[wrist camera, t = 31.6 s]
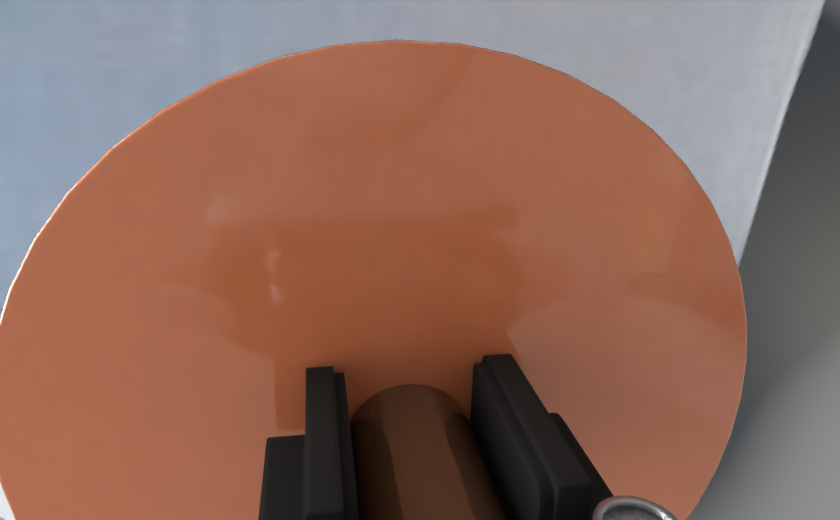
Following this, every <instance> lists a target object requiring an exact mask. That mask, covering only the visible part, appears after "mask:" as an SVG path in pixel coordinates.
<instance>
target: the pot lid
mask: <svg viewBox="0 0 840 520" xmlns="http://www.w3.org/2000/svg"><path fill="white" fill-rule="evenodd" d="M746 346H747V319H746V311H745V304H744V297H743V289H742V282H741V278H740V274H739V271H738V267H737V264H736V261H735V257H734V254H733V250H732V247H731V244H730V241H729V238H728V236H727V234H726V232H725V230H724V228H723V226H722V224H721V221H720V219H719V217H718V215H717V213H716V211H715V209H714V207H713V204H712V202H711V201H710V199H709V198H708V196H707V195H706V193H705V192H704V190H703V189H702V187H701V186H700V184H699V183H698V181H697V180H696V179H695V177H694V176H693V174H692V173H691V171H690V170H689V168H688V167H687V165H686V164H685V163H684V162H683V161H682V160H681V159H680V158H679V156H678V155H677V154H676V153H675V152H674V151H673V150H672V149H671V148H670V147H669V146H668V145H667V144H666V143H665V142H664V141H663V140H662V138H661V137H660V136H659V135H658V134H657V133H656V132H655V131H654V130H653V129H652V128H650V127H649V126H648V125H646V124H645V123H644V122H643V121H641V120H640V119H639V118H637V117H636V116H635V115H633V114H632V113H631V112H630V111H628V110H627V109H626V108H624V107H623V106H622V105H621V104H619V103H618V102H617V101H615V100H614V99H612V98H610V97H609V96H607V95H605V94H603V93H601V92H599V91H598V90H596V89H594V88H592V87H590V86H589V85H587V84H585V83H583V82H581V81H580V80H578V79H576V78H574V77H572V76H570V75H569V74H566V73H563V72H561V71H558V70H555V69H552V68H550V67H547V66H544V65H542V64H539V63H536V62H533V61H531V60H528V59H525V58H523V57H520V56H517V55H513V54H508V53H503V52H498V51H494V50H489V49H484V48H479V47H474V46H470V45H465V44H460V43H444V42H428V41H413V40H384V41H371V42H358V43H345V44H335V45H331V46H326V47H322V48H317V49H312V50H308V51H303V52H299V53H294V54H290V55H285V56H281V57H277V58H274V59H271V60H269V61H266V62H263V63H261V64H258V65H255V66H252V67H250V68H247V69H244V70H242V71H239V72H236V73H234V74H231V75H228V76H226V77H223V78H220V79H218V80H216V81H214V82H212V83H211V84H209V85H207V86H205V87H203V88H201V89H199V90H198V91H196V92H194V93H192V94H190V95H188V96H187V97H185V98H183V99H181V100H179V101H177V102H176V103H174V104H172V105H170V106H168V107H166V108H165V109H163V110H161V111H159V112H158V113H157V114H155V115H154V116H153V117H151V118H150V119H149V120H147V121H146V122H145V123H143V124H142V125H141V126H139V127H138V128H137V129H135V130H134V131H133V132H131V133H130V134H129V135H127V136H126V137H125V138H123V139H122V140H121V141H119V142H118V143H117V144H115V145H114V146H113V147H111V148H110V149H109V150H108V151H107V152H106V153H105V154H104V155H103V156H102V157H101V158H100V159H99V160H98V161H97V162H96V163H95V164H94V165H93V166H92V167H91V168H90V169H89V170H88V171H87V172H86V173H85V174H84V175H83V176H82V177H81V178H80V179H79V180H78V181H77V183H76V184H75V185H74V186H73V187H72V188H71V189H70V190H69V191H68V192H67V193H66V195H65V196H64V197H63V199H62V200H61V202H60V203H59V204H58V206H57V207H56V209H55V210H54V211H53V213H52V214H51V215H50V217H49V218H48V220H47V221H46V222H45V224H44V225H43V227H42V228H41V229H40V231H39V232H38V233H37V235H36V236H35V238H34V239H33V241H32V243H31V245H30V247H29V249H28V251H27V253H26V255H25V257H24V259H23V261H22V263H21V265H20V267H19V269H18V271H17V273H16V275H15V277H14V279H13V281H12V283H11V285H10V287H9V291H8V294H7V297H6V300H5V304H4V307H3V310H2V313H1V317H0V484H1V487H2V489H3V492H4V494H5V497H6V499H7V501H8V504H9V506H10V509H11V511H12V514H13V516H14V519H15V520H258V517H259V507H260V497H261V488H262V478H263V469H264V459H265V449H266V441H267V438H269V437H280V436H292V435H303V434H305V403H306V368H310V367H324V366H333V372H334V373H342V372H344V376H345V385H346V395H347V404H348V413H349V423H350V432H351V442H352V451H353V461H354V470H355V480H356V489H357V499H358V514H359V520H509V518H508V515H507V513H506V510H505V508H504V506H503V503H502V501H501V498H500V496H499V493H498V491H497V489H496V486H495V484H494V481H493V479H492V477H491V474H490V472H489V469H488V467H487V465H486V462H485V460H484V457H483V455H482V453H481V450H480V448H479V445H478V443H477V440H476V438H475V436H474V433H473V431H472V428H471V426H470V414H471V397H472V380H473V367H474V364H475V363H481V362H482V358H483V356H484V355H496V354H511V355H512V356H513V357H514V359H515V361H516V362H517V364H518V365H519V367H520V369H521V370H522V372H523V373H524V375H525V376H526V378H527V380H528V381H529V383H530V384H531V386H532V387H533V389H534V391H535V392H536V394H537V395H538V397H539V399H540V400H541V402H542V403H543V405H544V406H545V408H546V410H547V411H548V413H553V412H555V413H558V414H559V415H560V416H561V417H562V418H563V420H564V421H565V423H566V424H567V426H568V427H569V429H570V430H571V432H572V433H573V435H574V436H575V438H576V439H577V441H578V442H579V444H580V445H581V447H582V448H583V450H584V452H585V453H586V455H587V456H588V458H589V459H590V461H591V462H592V464H593V465H594V467H595V468H596V470H597V471H598V473H599V474H600V476H601V477H602V479H603V480H604V482H605V483H606V485H607V486H608V488H609V489H610V491H611V492H612V494H613V495H614V496H619V495H626V496H636V497H640V498H644V499H648V500H650V501H652V502H654V503H656V504H658V505H661V506H662V507H664V508H665V509H666V510H668V511H669V512H670V513H672V514H673V515H674V516H675V517H676V518H677V519H678V520H686V519H687V518H688V517H689V515H690V514H691V512H692V511H693V509H694V508H695V507H696V505H697V504H698V502H699V500H700V498H701V497H702V495H703V493H704V491H705V489H706V488H707V486H708V484H709V482H710V480H711V478H712V477H713V475H714V473H715V471H716V469H717V467H718V464H719V462H720V460H721V457H722V455H723V452H724V450H725V448H726V445H727V443H728V440H729V438H730V435H731V432H732V428H733V425H734V421H735V418H736V414H737V411H738V407H739V403H740V400H741V394H742V388H743V387H742V386H743V381H744V374H745V367H746V360H747V358H746V357H747V347H746Z"/></svg>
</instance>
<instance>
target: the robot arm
mask: <svg viewBox="0 0 840 520" xmlns="http://www.w3.org/2000/svg"><path fill="white" fill-rule="evenodd" d="M470 426H471V428H472V431H473V433H474V436H475V438H476V440H477V443H478V445H479V448H480V450H481V453H482V455H483V457H484V460H485V462H486V465H487V467H488V469H489V472H490V474H491V477H492V479H493V481H494V484H495V486H496V489H497V491H498V493H499V496H500V498H501V501H502V503H503V506H504V508H505V510H506V513H507V515H508V518H509V520H678V519H677V518H676V517H675V516H674V515H673V514H672V513H670V512H669V511H668V510H666V509H665V508H664V507H662V506H661V505H658V504H656V503H654V502H652V501H650V500H648V499H644V498H640V497H636V496H626V495H619V496H614V495H613V494H612V492H611V491H610V489H609V488H608V486H607V485H606V483H605V482H604V480H603V479H602V477H601V476H600V474H599V473H598V471H597V470H596V468H595V467H594V465H593V464H592V462H591V461H590V459H589V458H588V456H587V455H586V453H585V452H584V450H583V448H582V447H581V445H580V444H579V442H578V441H577V439H576V438H575V436H574V435H573V433H572V432H571V430H570V429H569V427H568V426H567V424H566V423H565V421H564V420H563V418H562V417H561V416H560V415H559V414H558V413H555V412H553V413H548V411H547V410H546V408H545V406H544V405H543V403H542V402H541V400H540V399H539V397H538V395H537V394H536V392H535V391H534V389H533V387H532V386H531V384H530V383H529V381H528V380H527V378H526V376H525V375H524V373H523V372H522V370H521V369H520V367H519V365H518V364H517V362H516V361H515V359H514V357H513V356H512V355H511V354H496V355H484V356H483V358H482V362H481V363H475V364H474V367H473V380H472V397H471V414H470ZM258 520H359V514H358V499H357V489H356V480H355V470H354V461H353V451H352V442H351V432H350V423H349V413H348V404H347V395H346V385H345V376H344V372H342V373H334V372H333V366H324V367H310V368H306V403H305V434H303V435H292V436H280V437H269V438H267V441H266V449H265V459H264V469H263V478H262V488H261V497H260V507H259V517H258Z"/></svg>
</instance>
